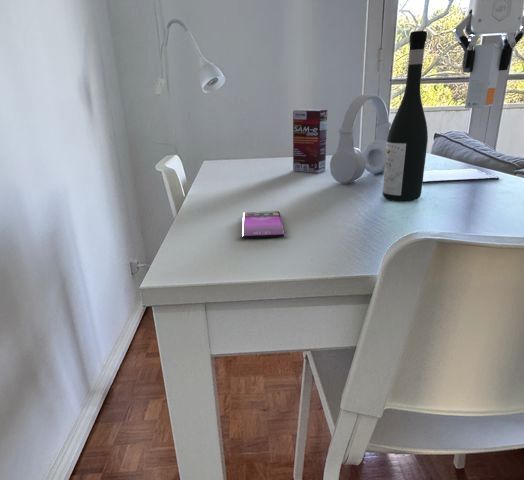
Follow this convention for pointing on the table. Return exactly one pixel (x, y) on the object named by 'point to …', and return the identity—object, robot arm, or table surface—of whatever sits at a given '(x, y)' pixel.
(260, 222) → the smartphone
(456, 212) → the table surface
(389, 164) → the wine bottle
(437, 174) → the mat
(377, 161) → the headphones
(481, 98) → the cosmetic box
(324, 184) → the table surface
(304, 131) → the supplement box
